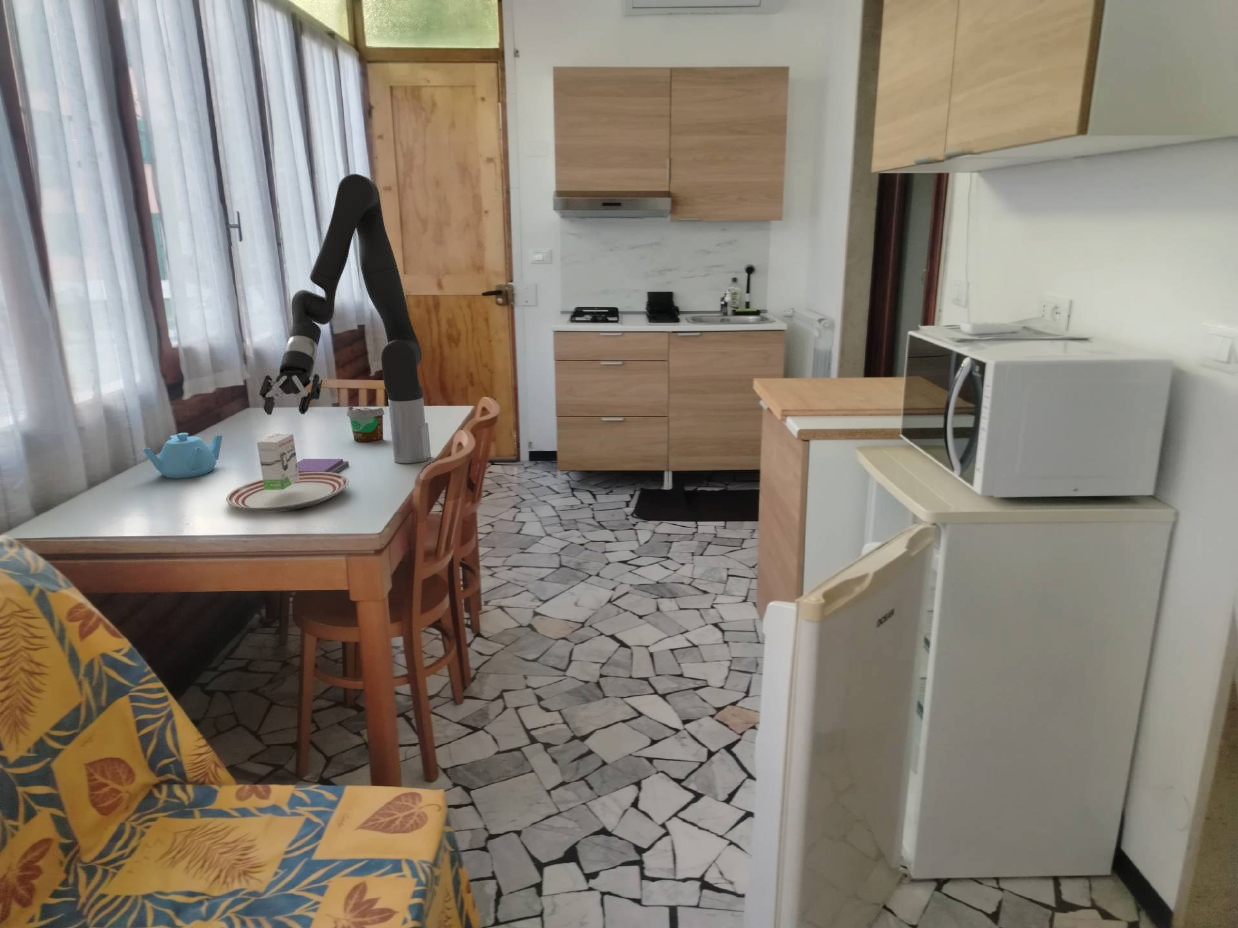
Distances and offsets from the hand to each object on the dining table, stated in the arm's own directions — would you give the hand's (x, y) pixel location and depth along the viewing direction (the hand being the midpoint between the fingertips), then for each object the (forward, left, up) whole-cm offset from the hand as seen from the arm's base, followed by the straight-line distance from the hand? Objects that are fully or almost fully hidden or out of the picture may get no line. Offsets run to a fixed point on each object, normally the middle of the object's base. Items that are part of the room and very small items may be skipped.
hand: (284, 412), depth 201 cm
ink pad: (+1, -14, -19) cm, 24 cm away
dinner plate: (-3, +8, -20) cm, 22 cm away
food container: (+1, -48, -19) cm, 52 cm away
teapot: (+36, -14, -19) cm, 43 cm away
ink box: (0, +6, -17) cm, 18 cm away
